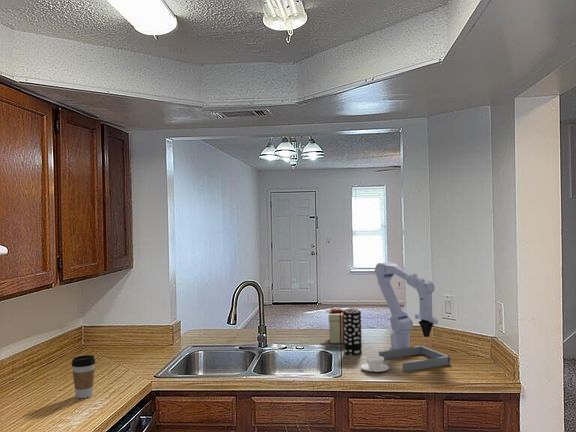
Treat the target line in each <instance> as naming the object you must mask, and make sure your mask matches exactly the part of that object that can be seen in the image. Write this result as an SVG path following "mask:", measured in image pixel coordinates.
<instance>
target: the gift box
mask: <svg viewBox="0 0 576 432" xmlns="http://www.w3.org/2000/svg"><path fill="white" fill-rule="evenodd" d="M347 310H358V311H359V309H357V308H355V307H349V308H347V309H342V308H339V307H331V308H329V310H326V311H325V313H327V314H328V322H329V323H328V325H329V344H344V311H347Z"/></svg>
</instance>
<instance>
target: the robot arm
mask: <svg viewBox="0 0 576 432" xmlns="http://www.w3.org/2000/svg"><path fill="white" fill-rule="evenodd" d="M374 273H375V275H376V278H377V283H378V286H379V288H380V291H381V293H382V295H383V298H384V300H385V303H386V305H387V307H388V309H389V311H390V314H391V317H390V318H389V322H390V327H391V330H392V332H391V334H390V347H389V350H393V349H401V348H408V347H411V335H410V334H411V333H410V332H411V330H412V329H413V327H414V324H413V320H412V318H410V317H409V315H408V313H406V312H405V311H403V309H402V307H401V304H400V303H399V302H400V301H399V300H398V298H397V296H396V293H395V291H394V288H393V287H392V284H391V280H392V279H393V277H394V276H398V277H399V278H401V279H403V280H405V282H406V285H408V286H410V287H412V288H413V289H415V290H416V292H417V294H418V298H419V299H418V300H419V313H415V314H414V319H418V320H420V321H418V324H419V326H420V328H421V331H422V335H423V337H424V338H428V337H429V338H430V335H431V332H432V327H433V326H434V325H438V324H439V319H437V318H435V317H434V315H433V293H434V292H435V285H434V284H435V283H433V282H432V281H431V280H426V279H425V278H422V277H420V276H418V274H417V273H409V272H407V271H406V270H404V269H403V268H402V267H400V266H399V265H398V263H396V262H393V261H389V262H378V263H377V264H376V265H375V268H374Z"/></svg>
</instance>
